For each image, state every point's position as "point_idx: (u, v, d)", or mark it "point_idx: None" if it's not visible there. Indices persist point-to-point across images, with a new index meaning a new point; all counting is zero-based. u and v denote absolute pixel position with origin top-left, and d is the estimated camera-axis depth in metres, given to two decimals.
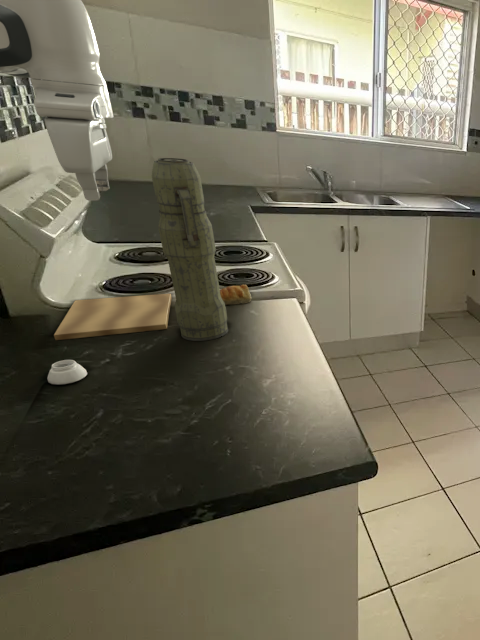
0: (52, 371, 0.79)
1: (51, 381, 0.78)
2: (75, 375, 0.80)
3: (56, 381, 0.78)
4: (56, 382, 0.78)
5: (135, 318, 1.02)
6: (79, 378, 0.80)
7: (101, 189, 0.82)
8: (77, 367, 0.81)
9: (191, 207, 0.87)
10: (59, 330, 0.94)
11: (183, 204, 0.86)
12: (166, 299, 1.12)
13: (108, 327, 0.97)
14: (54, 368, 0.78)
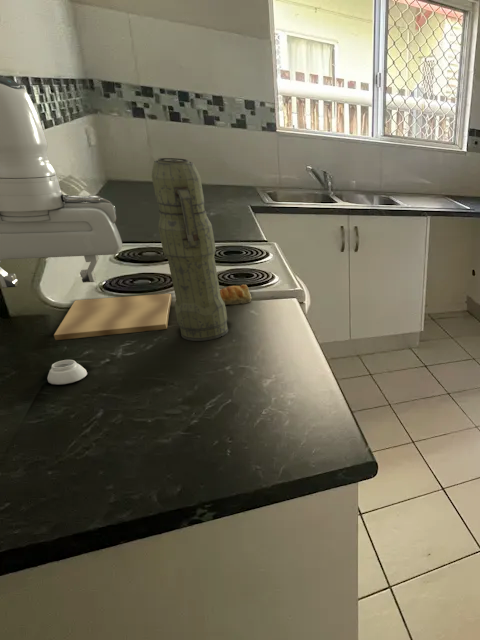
0: (52, 371, 0.79)
1: (51, 381, 0.78)
2: (75, 375, 0.80)
3: (56, 381, 0.78)
4: (56, 382, 0.78)
5: (135, 318, 1.02)
6: (79, 378, 0.80)
7: None
8: (77, 367, 0.81)
9: (191, 207, 0.87)
10: (59, 330, 0.94)
11: (183, 204, 0.86)
12: (166, 299, 1.12)
13: (108, 327, 0.97)
14: (54, 368, 0.78)
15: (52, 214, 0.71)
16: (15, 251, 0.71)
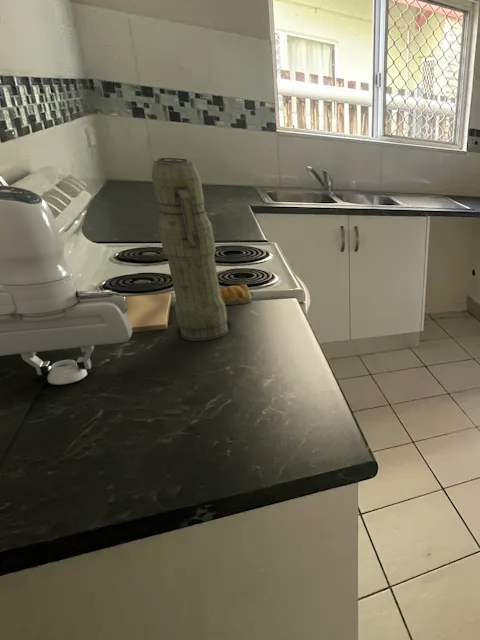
0: (52, 371, 0.79)
1: (51, 381, 0.78)
2: (75, 375, 0.80)
3: (56, 381, 0.78)
4: (56, 382, 0.78)
5: (135, 318, 1.02)
6: (79, 378, 0.80)
7: None
8: (77, 367, 0.81)
9: (191, 207, 0.87)
10: None
11: (183, 204, 0.86)
12: (166, 299, 1.12)
13: None
14: (54, 368, 0.78)
15: (67, 311, 0.76)
16: (32, 346, 0.75)
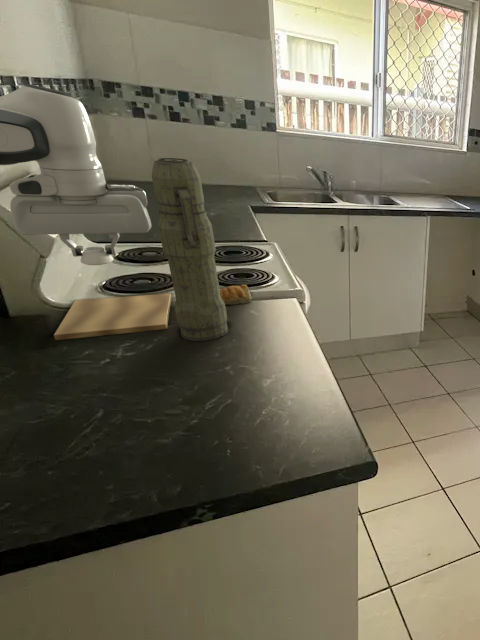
0: (85, 253, 0.93)
1: (84, 261, 0.93)
2: (104, 258, 0.94)
3: (88, 261, 0.93)
4: (88, 262, 0.93)
5: (135, 318, 1.02)
6: (107, 261, 0.95)
7: None
8: (105, 252, 0.95)
9: (191, 207, 0.87)
10: (59, 330, 0.94)
11: (183, 204, 0.86)
12: (166, 299, 1.12)
13: (108, 327, 0.97)
14: (86, 250, 0.93)
15: (98, 199, 0.90)
16: (69, 228, 0.90)
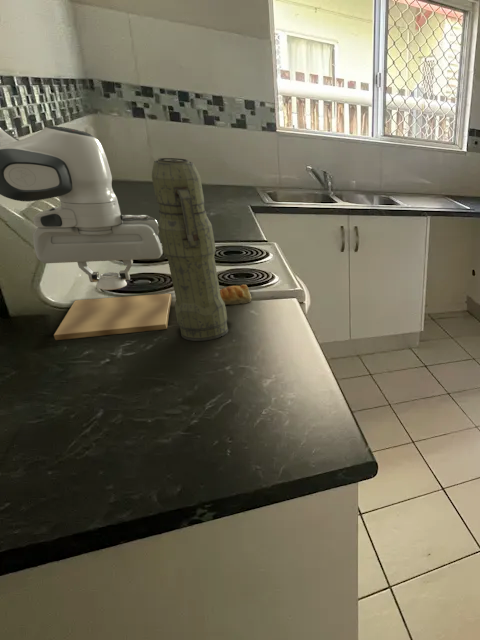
0: (100, 279, 0.99)
1: (100, 286, 0.99)
2: (118, 283, 1.01)
3: (104, 286, 0.99)
4: (104, 287, 0.99)
5: (135, 318, 1.02)
6: (121, 286, 1.01)
7: None
8: (119, 277, 1.01)
9: (191, 207, 0.87)
10: (59, 330, 0.94)
11: (183, 204, 0.86)
12: (166, 299, 1.12)
13: (108, 327, 0.97)
14: (102, 276, 0.99)
15: (114, 229, 0.96)
16: (87, 256, 0.96)
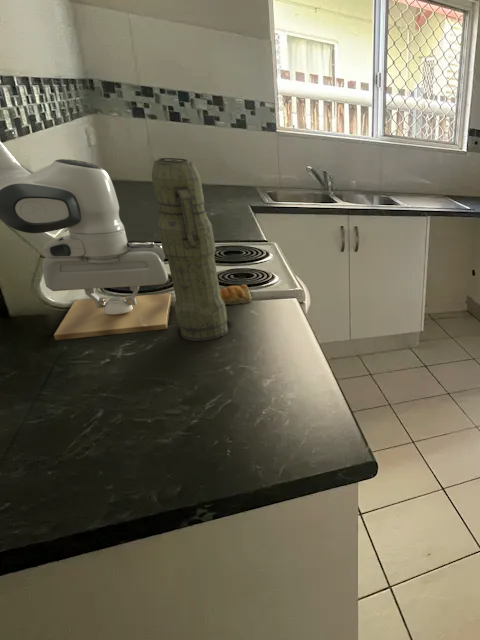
0: (107, 304, 1.02)
1: (106, 311, 1.01)
2: (124, 308, 1.03)
3: (110, 311, 1.01)
4: (110, 312, 1.01)
5: (135, 318, 1.02)
6: (127, 310, 1.03)
7: None
8: (126, 302, 1.04)
9: (191, 207, 0.87)
10: (59, 330, 0.94)
11: (183, 204, 0.86)
12: (166, 299, 1.12)
13: (108, 327, 0.97)
14: (109, 301, 1.01)
15: (121, 256, 0.99)
16: (94, 283, 0.98)
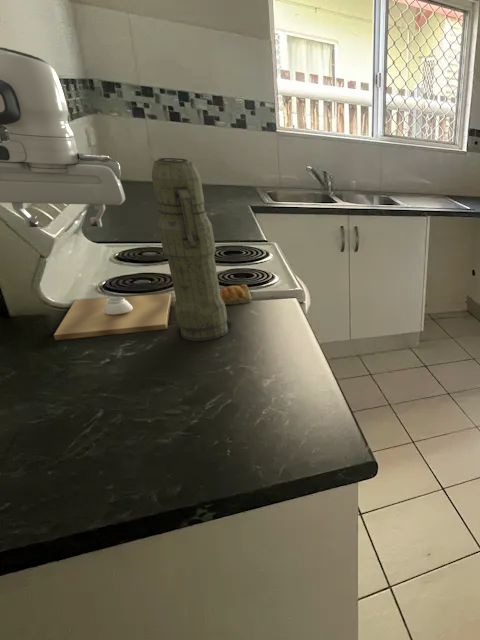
0: (107, 304, 1.02)
1: (106, 311, 1.01)
2: (124, 308, 1.03)
3: (110, 311, 1.01)
4: (110, 312, 1.01)
5: (135, 318, 1.02)
6: (127, 310, 1.03)
7: None
8: (126, 302, 1.04)
9: (191, 207, 0.87)
10: (59, 330, 0.94)
11: (183, 204, 0.86)
12: (166, 299, 1.12)
13: (108, 327, 0.97)
14: (109, 301, 1.01)
15: (69, 168, 0.88)
16: (38, 197, 0.88)
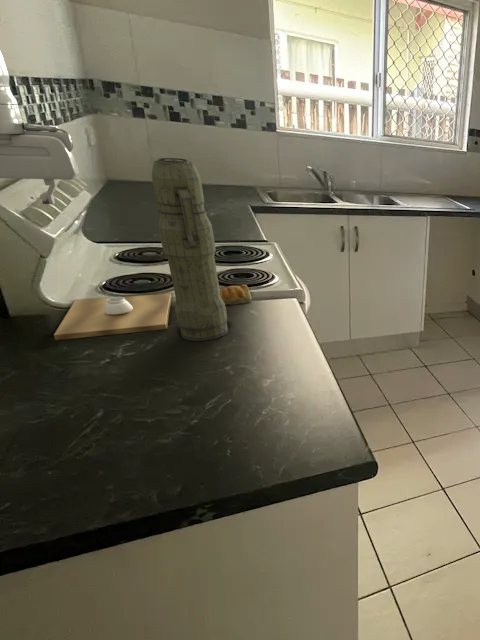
0: (107, 304, 1.02)
1: (106, 311, 1.01)
2: (124, 308, 1.03)
3: (110, 311, 1.01)
4: (110, 312, 1.01)
5: (135, 318, 1.02)
6: (127, 310, 1.03)
7: None
8: (126, 302, 1.04)
9: (191, 207, 0.87)
10: (59, 330, 0.94)
11: (183, 204, 0.86)
12: (166, 299, 1.12)
13: (108, 327, 0.97)
14: (109, 301, 1.01)
15: (13, 139, 0.82)
16: None
